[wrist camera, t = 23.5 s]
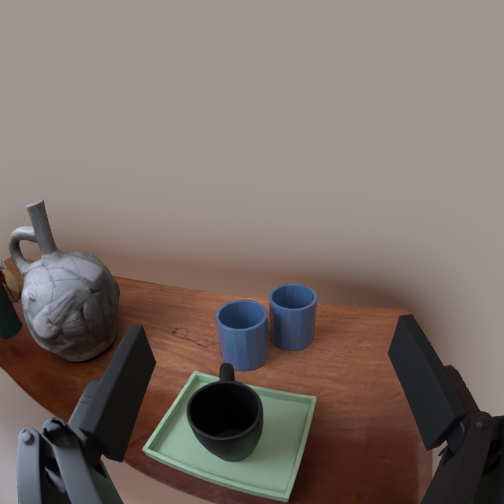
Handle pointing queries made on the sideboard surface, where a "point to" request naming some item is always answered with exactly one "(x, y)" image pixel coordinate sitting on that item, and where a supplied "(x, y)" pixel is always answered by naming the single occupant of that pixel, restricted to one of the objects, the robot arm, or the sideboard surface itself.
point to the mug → (226, 417)
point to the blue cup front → (243, 334)
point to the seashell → (11, 284)
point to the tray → (258, 462)
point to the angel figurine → (2, 264)
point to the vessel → (65, 294)
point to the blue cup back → (292, 316)
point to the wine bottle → (7, 312)
